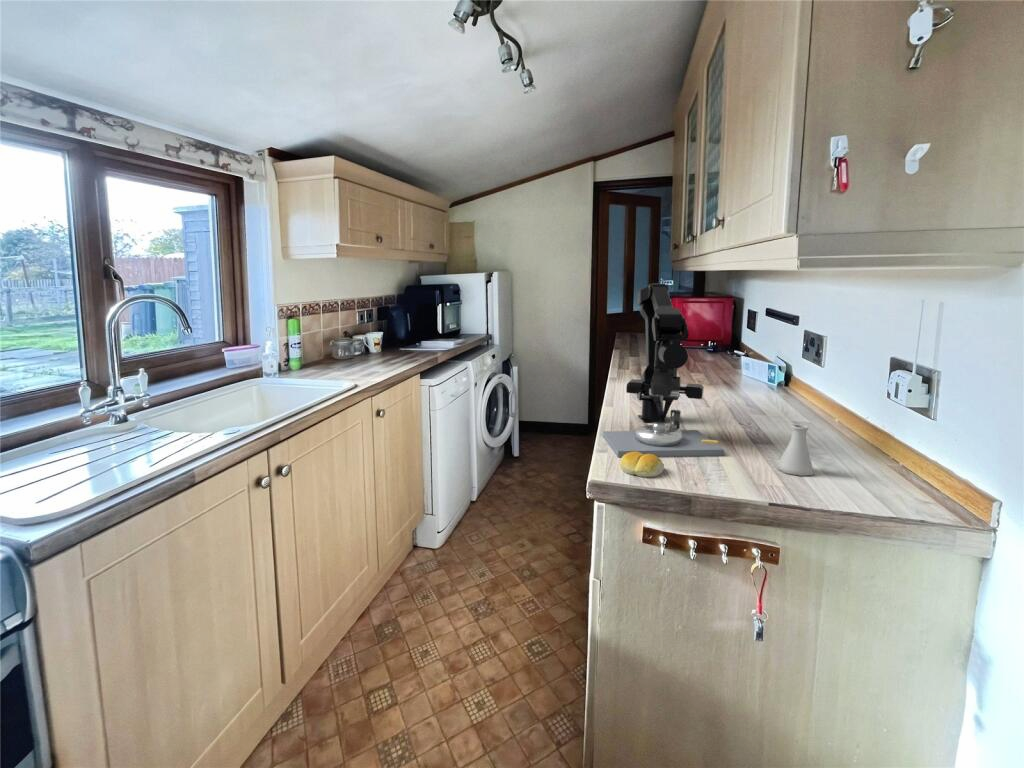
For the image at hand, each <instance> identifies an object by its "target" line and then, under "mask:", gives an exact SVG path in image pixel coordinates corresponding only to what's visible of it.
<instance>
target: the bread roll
mask: <svg viewBox="0 0 1024 768" xmlns="http://www.w3.org/2000/svg"><path fill="white" fill-rule="evenodd" d="M619 462H620V469H621V470H622V471H623V472H624V473H626V474H628V475H632V476H633V475H634V476H635V475H636V476H637V477H639V478H640V477H642V478H655V477H657V476H659V475H660V474H662V473H663V471H664V468H665V464H664V463H663V461H662V459H661V458H660V457H657V456H655V455H653V454H645V455H644V454H642V453H640V452H629V453H627V454H625V455H624V456H623V457H620V461H619Z"/></svg>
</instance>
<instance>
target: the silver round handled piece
mask: <svg viewBox="0 0 1024 768" xmlns="http://www.w3.org/2000/svg"><path fill="white" fill-rule="evenodd" d="M681 413H682V412H681V410H679V409H671V410H670V419H669V420H670V421H669V422H670V423H669V424H667V425H666V422H652V425H651V424H650V425H649V424H648V425H647V424H646V425H641V426H638V427H636V428H635V431H636V436H635V438H636V440H638V441H639V442H642V443H645V444H649V445H655V446H674V445H678V444H680V443H681V442H682V432H681V431H680V430H681V429H680V428H681V415H682V414H681Z"/></svg>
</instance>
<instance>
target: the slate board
mask: <svg viewBox="0 0 1024 768" xmlns="http://www.w3.org/2000/svg"><path fill="white" fill-rule="evenodd" d="M679 430H680V431H681V432H682V442H681V443H680V444H678V445H674V446H655V445H649V444H645V443H642V442H639V441H638V440H636V438H635V436H636V430H611V431H610V430H607V431H606V430H605V431H604V430H603V431H602V438H603V439H604V441H606V443H607V444H608V447H610V449H611V450H612V451H613V453H614V454H615V455H616V457H617V458H622V457H623V456H624V455H625V454H627V453H629V452H640V453H642V454H644V455H645V454H653V455H655V456H657V457H658V458H660V457H661V458H664V457H668V458H669V457H670V458H671V457H720V456H721V457H722V456H725V448H723V447H721V446H720V445H719V441H718V440H713V439H712V440H711V439H710V438H709V437H708V436H706V435H705V434H704V433H702V432H701V431H699V430H698V429H688V430H687V429H684V430H683V429H679Z"/></svg>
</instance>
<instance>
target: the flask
mask: <svg viewBox="0 0 1024 768" xmlns="http://www.w3.org/2000/svg"><path fill="white" fill-rule="evenodd" d="M791 428H792V434H791V437H790V441H788V444H787V446H786V448H785V450H784V452H783V454H782V456H781V458H780V459H779V461H778V462H777V465H776V469H778V470H779V471H781V472H783V474H789V475H795V476H801V477H802V476H803V477H804V476H814V475H815V474H814V468H813V464H812V460H811V457H810V454H809V453H810V452H809V449H808V445H807V431H809V425H806V424H800V423H799V424H798V423H795V424H794V423H793V424H792V425H791Z"/></svg>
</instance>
